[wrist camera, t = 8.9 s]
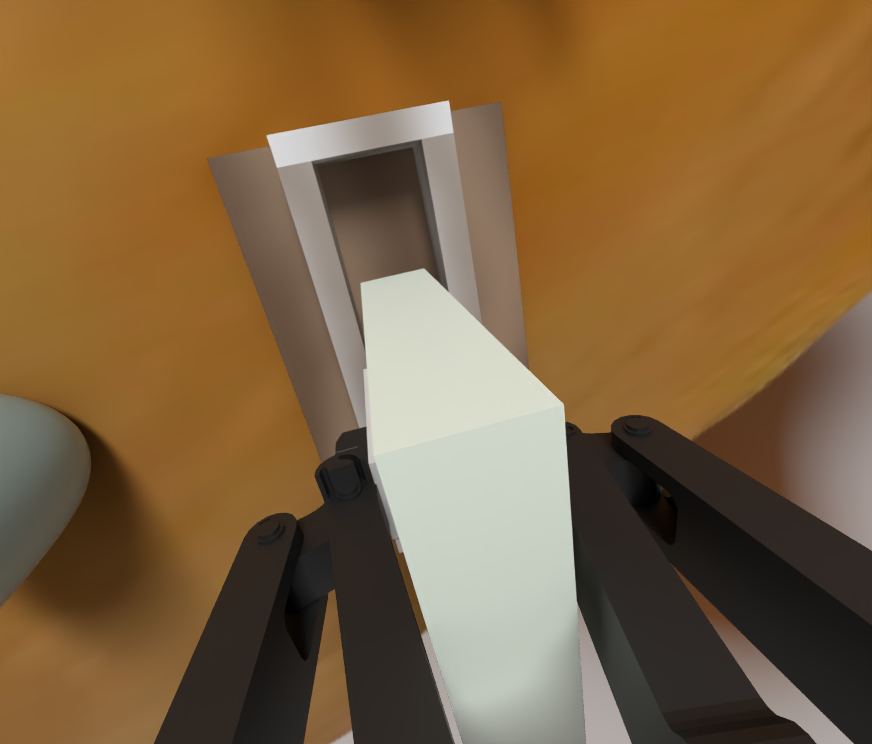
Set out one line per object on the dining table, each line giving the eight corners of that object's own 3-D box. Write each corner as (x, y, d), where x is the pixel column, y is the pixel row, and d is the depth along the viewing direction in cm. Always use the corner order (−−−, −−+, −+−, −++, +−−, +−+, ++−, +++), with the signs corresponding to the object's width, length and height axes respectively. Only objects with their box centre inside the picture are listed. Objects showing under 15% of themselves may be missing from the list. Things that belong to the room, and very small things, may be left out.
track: (349, 521, 25) (348, 568, 22) (214, 160, 17) (181, 151, 13) (533, 469, 26) (558, 506, 23) (493, 106, 18) (523, 86, 15)
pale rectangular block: (409, 464, 20) (476, 785, 9) (360, 282, 16) (373, 455, 5) (464, 449, 20) (594, 743, 9) (428, 267, 16) (577, 401, 5)
